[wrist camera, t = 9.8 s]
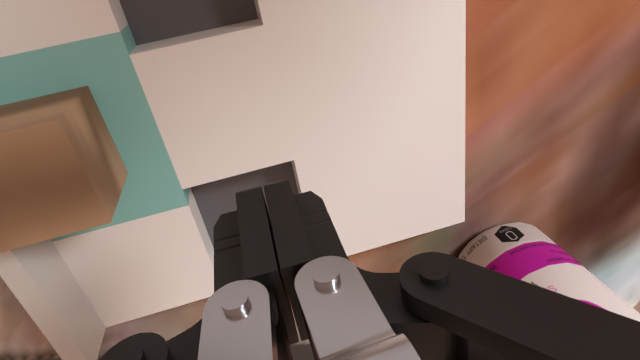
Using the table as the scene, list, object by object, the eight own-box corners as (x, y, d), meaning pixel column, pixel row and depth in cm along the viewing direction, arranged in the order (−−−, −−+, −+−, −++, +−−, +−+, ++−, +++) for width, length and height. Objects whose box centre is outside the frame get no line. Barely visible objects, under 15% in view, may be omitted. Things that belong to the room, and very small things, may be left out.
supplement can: (428, 265, 32) (575, 471, 20) (517, 197, 31) (735, 368, 18) (473, 314, 36) (619, 512, 24) (553, 256, 35) (753, 430, 22)
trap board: (-155, -110, 16) (-305, -136, 11) (436, -207, 19) (514, -259, 14) (97, 302, 27) (74, 376, 22) (446, 202, 30) (491, 248, 25)
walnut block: (-20, 110, 18) (-81, 152, 14) (87, 85, 19) (57, 120, 15) (33, 197, 20) (-7, 254, 17) (128, 173, 21) (110, 222, 17)
